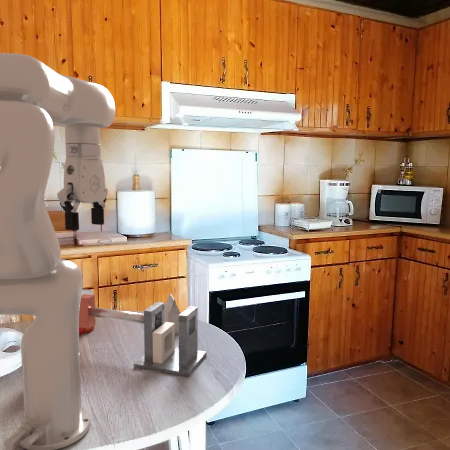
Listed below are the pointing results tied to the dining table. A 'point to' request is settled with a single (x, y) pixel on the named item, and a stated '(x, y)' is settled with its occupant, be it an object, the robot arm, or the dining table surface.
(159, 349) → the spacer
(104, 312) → the shaft
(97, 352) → the dining table surface
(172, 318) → the grey pointed block
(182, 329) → the bearing block
